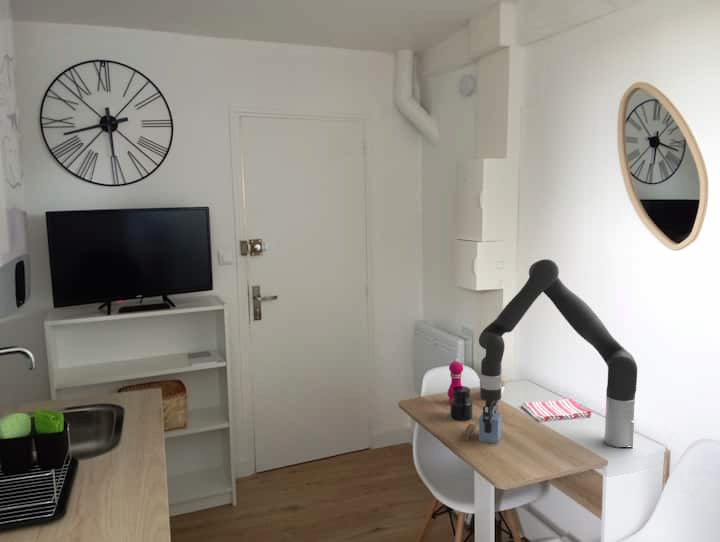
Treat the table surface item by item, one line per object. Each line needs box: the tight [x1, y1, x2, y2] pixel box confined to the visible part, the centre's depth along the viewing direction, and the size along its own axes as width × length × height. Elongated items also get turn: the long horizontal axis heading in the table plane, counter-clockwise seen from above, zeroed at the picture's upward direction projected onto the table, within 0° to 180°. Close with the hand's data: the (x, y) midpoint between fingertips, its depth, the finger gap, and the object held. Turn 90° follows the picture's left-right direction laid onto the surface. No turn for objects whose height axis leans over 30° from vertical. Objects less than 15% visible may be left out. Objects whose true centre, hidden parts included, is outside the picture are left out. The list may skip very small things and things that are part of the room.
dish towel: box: [521, 398, 593, 423], centre depth 231 cm, size 17×23×4 cm
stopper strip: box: [462, 423, 476, 442], centre depth 210 cm, size 2×10×2 cm, turn 155°
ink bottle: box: [449, 385, 474, 422], centre depth 227 cm, size 10×9×12 cm
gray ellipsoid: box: [482, 437, 502, 444], centre depth 207 cm, size 8×8×1 cm
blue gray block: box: [478, 411, 503, 445], centre depth 206 cm, size 7×7×9 cm
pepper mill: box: [447, 358, 464, 405], centre depth 241 cm, size 7×7×20 cm
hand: (490, 428), depth 206 cm, fingers open, 8 cm apart
